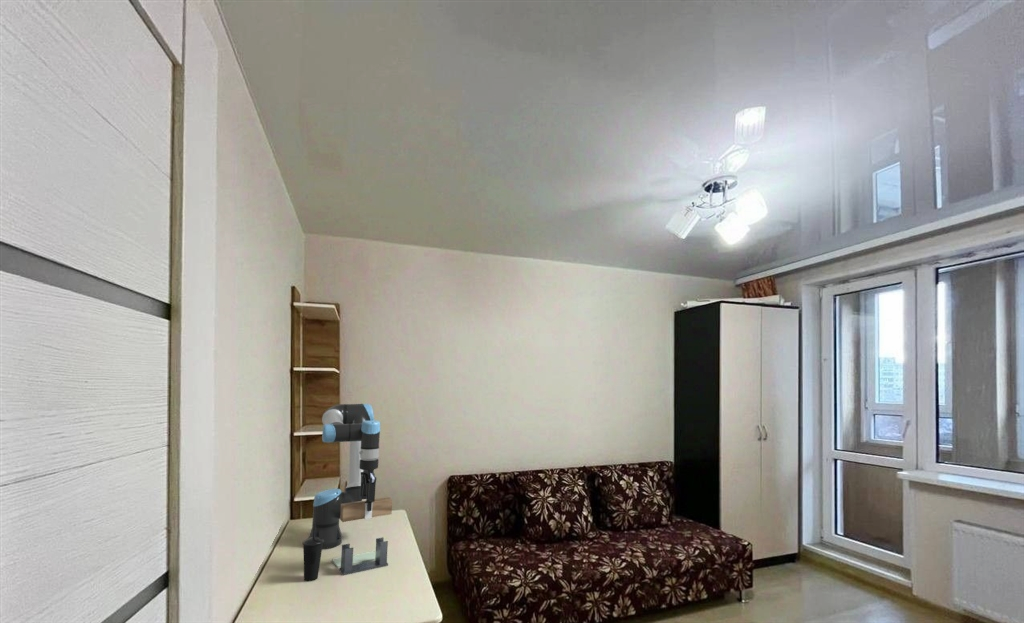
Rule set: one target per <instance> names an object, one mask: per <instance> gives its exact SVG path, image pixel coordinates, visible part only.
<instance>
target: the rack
mask: <svg viewBox="0 0 1024 623" xmlns="http://www.w3.org/2000/svg"><path fill="white" fill-rule="evenodd" d="M388 545H389V541H388V540H385V541H384V536H382V537H378V538H376V539H375V552H376V556H375V560H373V561H369V562H364V563H359V564H354V565H353V555H354V547H350V546H351V543H345V544H341V555H340V558H341V567H340V568H338V571H339V572H340V573H341V575H342V576H347V575H353V574H356V573H360V572H365V571H369V570H374V569H378V568H383V567H388V566H389V563H388V547H389V546H388Z"/></svg>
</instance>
